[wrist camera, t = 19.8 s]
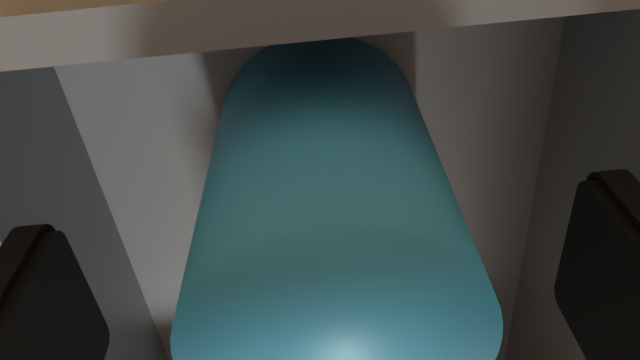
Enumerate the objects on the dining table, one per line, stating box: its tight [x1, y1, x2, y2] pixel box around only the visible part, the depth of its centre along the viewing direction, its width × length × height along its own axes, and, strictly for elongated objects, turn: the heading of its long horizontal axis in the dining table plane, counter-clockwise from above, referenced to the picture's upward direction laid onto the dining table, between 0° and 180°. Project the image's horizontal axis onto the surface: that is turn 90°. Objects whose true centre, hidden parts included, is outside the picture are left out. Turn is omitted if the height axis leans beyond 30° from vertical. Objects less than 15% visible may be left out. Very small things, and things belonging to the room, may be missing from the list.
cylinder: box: [170, 37, 503, 360], centre depth 11 cm, size 5×5×7 cm
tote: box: [0, 0, 640, 360], centre depth 15 cm, size 18×14×5 cm
